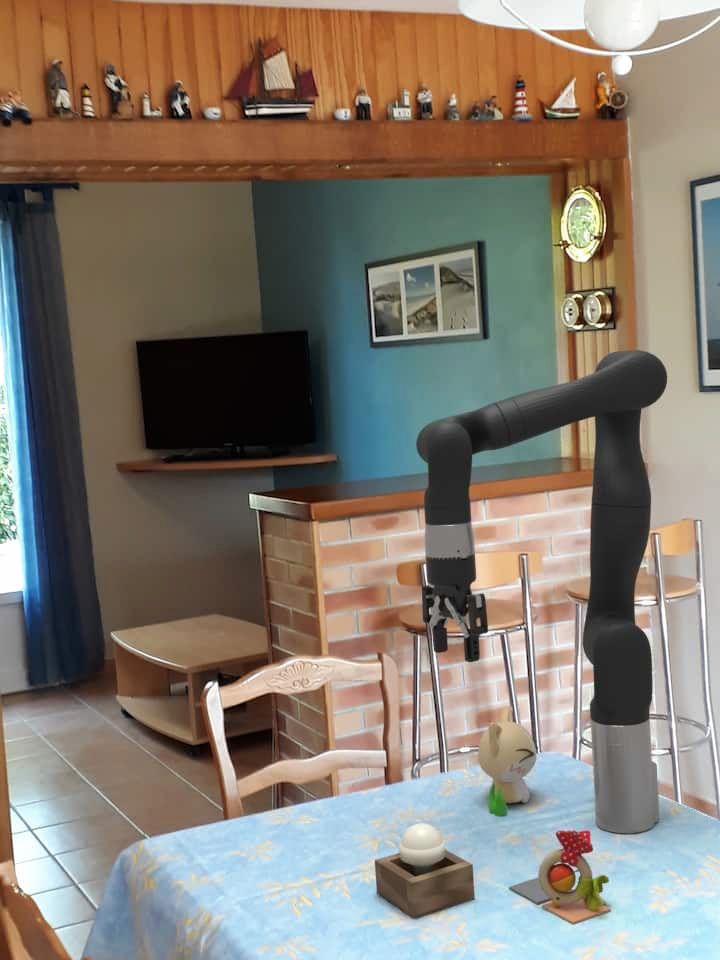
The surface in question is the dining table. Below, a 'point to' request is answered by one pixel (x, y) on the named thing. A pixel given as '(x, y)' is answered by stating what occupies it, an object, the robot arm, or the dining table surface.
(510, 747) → the kitten
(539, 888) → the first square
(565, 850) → the bird rattle
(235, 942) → the dining table surface
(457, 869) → the button frame
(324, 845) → the dining table surface
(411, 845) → the dome button
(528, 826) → the dining table surface
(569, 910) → the tile
